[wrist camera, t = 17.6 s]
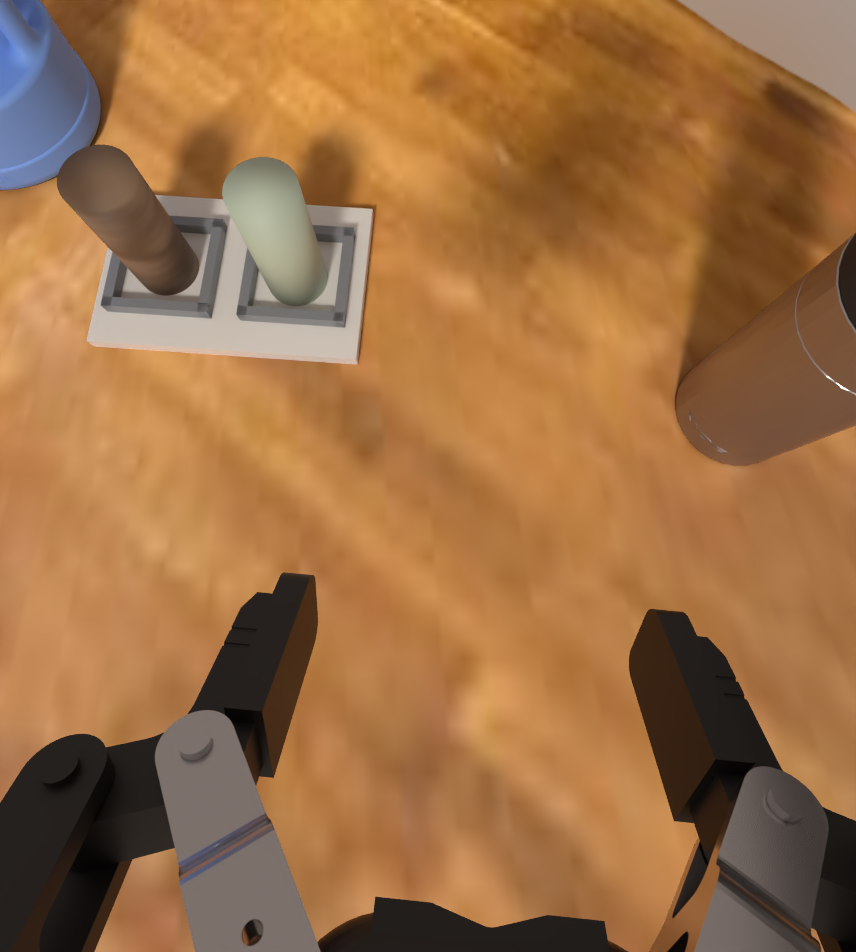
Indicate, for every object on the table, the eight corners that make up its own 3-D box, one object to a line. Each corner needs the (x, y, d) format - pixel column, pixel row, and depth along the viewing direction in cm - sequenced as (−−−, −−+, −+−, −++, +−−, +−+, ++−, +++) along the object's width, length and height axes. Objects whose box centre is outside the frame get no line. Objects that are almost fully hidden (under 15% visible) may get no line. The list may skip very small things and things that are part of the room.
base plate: (373, 216, 46) (371, 200, 44) (357, 364, 43) (354, 353, 41) (126, 200, 47) (113, 183, 45) (94, 346, 44) (78, 334, 42)
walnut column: (180, 232, 45) (111, 132, 35) (210, 274, 44) (148, 184, 34) (128, 262, 44) (43, 169, 34) (157, 306, 43) (79, 223, 34)
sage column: (307, 242, 45) (274, 144, 35) (338, 286, 44) (313, 198, 34) (256, 271, 44) (208, 180, 34) (287, 316, 43) (246, 236, 33)
